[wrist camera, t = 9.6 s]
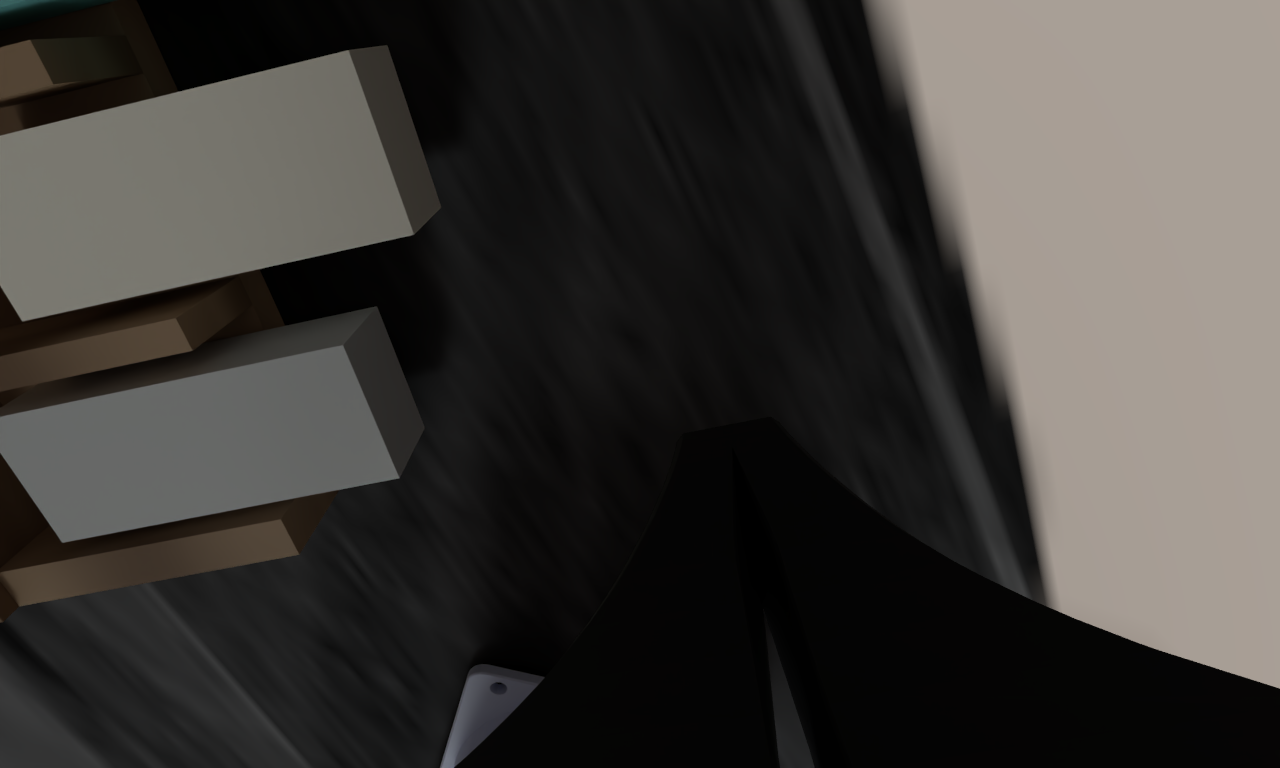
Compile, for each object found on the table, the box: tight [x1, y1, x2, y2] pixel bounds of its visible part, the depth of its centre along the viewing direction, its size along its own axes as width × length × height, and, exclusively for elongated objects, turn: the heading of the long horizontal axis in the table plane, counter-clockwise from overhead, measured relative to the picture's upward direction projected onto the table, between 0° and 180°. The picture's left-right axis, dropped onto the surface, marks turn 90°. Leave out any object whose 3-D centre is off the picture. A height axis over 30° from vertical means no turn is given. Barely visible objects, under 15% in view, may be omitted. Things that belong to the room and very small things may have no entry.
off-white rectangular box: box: [0, 45, 441, 321], centre depth 15 cm, size 8×3×2 cm, turn 102°
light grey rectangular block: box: [0, 306, 425, 543], centre depth 17 cm, size 8×3×2 cm, turn 102°
